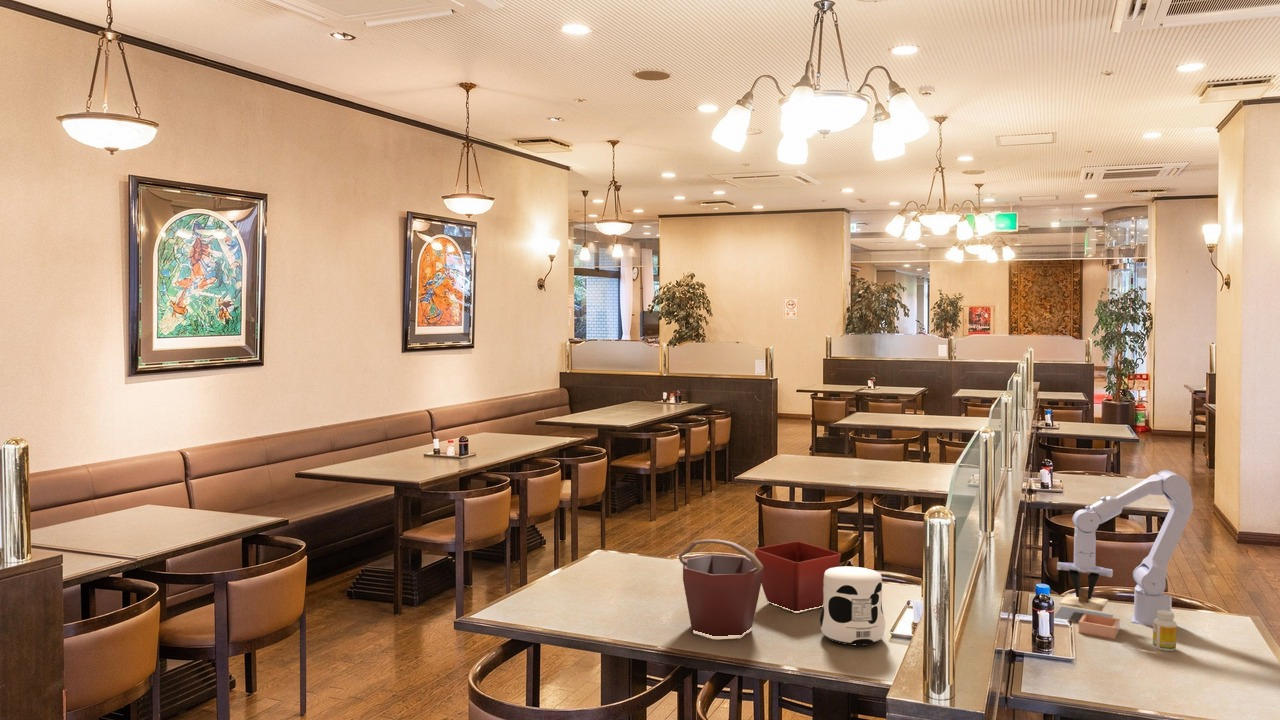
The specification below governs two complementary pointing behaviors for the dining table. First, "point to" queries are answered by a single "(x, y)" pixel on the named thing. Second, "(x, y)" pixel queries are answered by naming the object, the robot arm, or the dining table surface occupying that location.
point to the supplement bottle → (1164, 631)
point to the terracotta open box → (1099, 626)
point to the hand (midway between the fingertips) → (1083, 597)
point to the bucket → (721, 589)
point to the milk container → (852, 606)
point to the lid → (1084, 601)
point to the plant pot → (795, 573)
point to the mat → (1075, 613)
